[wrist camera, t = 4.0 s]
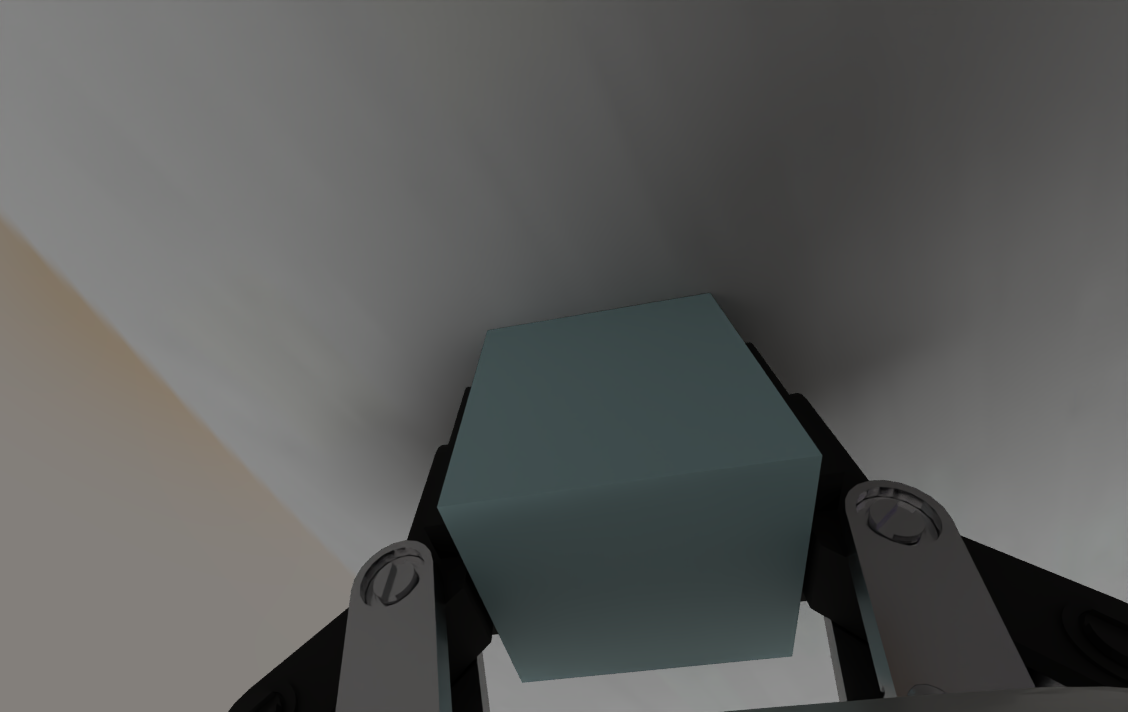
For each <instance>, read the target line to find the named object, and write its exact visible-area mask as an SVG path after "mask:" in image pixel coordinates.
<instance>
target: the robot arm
mask: <svg viewBox="0 0 1128 712" xmlns="http://www.w3.org/2000/svg"><path fill="white" fill-rule="evenodd" d="M745 344H746V346H747V347H748V349H749V350H750V351H751V353H752V354H753V356H754V357H755V359H756V360H757V362H758V363H759V364H760V366H761V367H762V369H763V370H764V372H765V373H766V375H767V376H768V377H769V379H770V380H771V382H772V383H773V385H774V386H775V388H776V389H777V391H778V392H779V393H780V395H781V396H782V398H783V399H784V401H785V402H786V404H787V405H788V406H789V408H790V409H791V411H792V412H793V414H794V415H795V417H796V418H797V419H798V421H799V422H800V424H801V425H802V427H803V428H804V430H805V431H806V432H807V434H808V435H809V437H810V438H811V440H812V441H813V443H814V444H815V445H816V447H817V448H818V450H819V451H820V453H821V454H822V461H821V467H820V474H819V481H818V487H817V494H816V501H815V507H814V514H813V521H812V527H811V534H810V541H809V547H808V554H807V560H806V567H805V574H804V580H803V587H802V594H801V600H800V602H801V601H807V602H808V604H809V606H810V608H811V609H813V610H815V611H816V612H818V613H820V614H821V615H823V616H824V621H825V626H826V632H827V637H828V642H829V648H830V653H831V659H832V664H833V669H834V675H835V680H836V686H837V691H838V696H839V702H833V703H821V704H809V705H797V706H784V707H772V708H760V709H749V710H737V711H726V712H1128V604H1127V603H1125V602H1123V601H1121V600H1119V599H1116V598H1114V597H1111V596H1109V595H1106V594H1104V593H1101V592H1099V591H1096V590H1094V589H1091V588H1089V587H1087V586H1084V585H1082V584H1079V583H1077V582H1074V581H1072V580H1069V579H1067V578H1064V577H1062V576H1059V575H1057V574H1054V573H1052V572H1050V571H1047V570H1045V569H1042V568H1040V567H1037V566H1035V565H1032V564H1030V563H1027V562H1025V561H1022V560H1020V559H1017V558H1015V557H1013V556H1010V555H1008V554H1005V553H1003V552H1000V551H998V550H995V549H993V548H990V547H988V546H985V545H983V544H980V543H978V542H976V541H973V540H971V539H968V538H966V537H963V536H961V535H960V534H959V532H958V529H957V527H956V525H955V523H954V521H953V519H952V518H951V517H950V515H949V514H948V512H947V511H946V510H945V508H944V507H943V506H942V505H941V504H939V503H938V502H937V501H936V500H935V499H933V498H932V497H931V496H929V495H927V494H925V493H924V492H922V491H920V490H918V489H917V488H914V487H911V486H908V485H905V484H902V483H899V482H893V481H887V480H873V481H869V480H868V479H867V478H866V476H865V475H864V474H863V472H862V471H861V470H860V468H859V467H858V466H857V464H856V463H855V462H854V461H853V459H852V458H851V457H850V455H849V454H848V453H847V451H846V450H845V449H844V447H843V446H842V445H841V444H840V442H839V441H838V440H837V438H836V437H835V436H834V434H833V433H832V432H831V430H830V429H829V428H828V427H827V425H826V424H825V423H824V421H823V420H822V419H821V417H820V416H819V415H818V413H817V412H816V411H815V409H814V408H813V407H812V406H811V404H810V403H809V402H808V400H807V399H806V398H805V397H804V396H803V395H802V394H799V393H795V394H788V392H787V391H786V389H785V388H784V387H783V385H782V384H781V383H780V381H779V380H778V378H777V377H776V376H775V374H774V373H773V371H772V370H771V369H770V367H769V366H768V364H767V363H766V362H765V360H764V359H763V358H762V356H761V355H760V353H759V352H758V351H757V349H756V348H755V346H754V345H753V344H752V343H745ZM471 387H472V386H471ZM471 387H467V388H466V389H465V392H464V395H463V398H462V402H461V405H460V408H459V411H458V415H457V418H456V421H455V425H454V428H453V431H452V434H451V438H450V441H449V444H448V445H441V446H440V447H439V448H438V450H437V452H436V454H435V457H434V460H433V463H432V466H431V469H430V472H429V475H428V478H427V481H426V484H425V487H424V490H423V493H422V496H421V499H420V502H419V505H418V508H417V511H416V514H415V517H414V520H413V523H412V526H411V529H410V533H409V536H408V539H407V540H405V541H401V542H396V543H393V544H391V545H389V546H387V547H385V548H383V549H381V550H380V551H378V552H377V553H376V554H374V555H373V556H372V557H371V558H370V559H369V560H368V561H367V562H366V563H365V564H364V565H363V566H362V567H361V569H360V571H359V572H358V574H357V576H356V578H355V579H354V583H353V586H352V589H351V595H350V603H349V608H348V609H346V610H345V611H344V612H343V613H341V614H340V615H339V616H338V617H337V618H335V619H334V620H333V621H332V622H331V623H329V624H328V625H327V626H326V627H324V628H323V629H322V630H321V631H319V632H318V633H317V634H316V635H315V636H313V637H312V638H311V639H310V640H309V641H307V642H306V643H305V644H304V645H302V646H301V647H300V648H299V649H298V650H296V651H295V652H294V653H293V654H292V655H290V656H289V657H288V658H287V659H286V660H284V661H283V662H282V663H281V664H279V665H278V666H277V667H276V668H274V669H273V670H272V671H271V672H270V673H268V674H267V675H266V676H265V677H264V678H262V679H261V680H260V681H259V682H258V683H256V684H255V685H254V686H253V687H251V688H250V689H249V690H248V691H247V692H246V693H245V694H244V695H243V696H242V697H241V698H240V699H239V700H238V701H237V702H235V704H234V705H233V706H232V707H231V709H230V710H229V712H490V707H489V699H488V692H487V684H486V676H485V668H484V660H483V653H482V651H483V650H484V649H485V648H486V647H487V646H488V645H489V644H490V643H491V639H492V635H494V634H498V632H497V630H496V628H495V626H494V623H493V621H492V619H491V617H490V615H489V613H488V611H487V609H486V607H485V605H484V603H483V601H482V599H481V597H480V595H479V593H478V591H477V588H476V586H475V584H474V582H473V580H472V578H471V576H470V574H469V572H468V570H467V568H466V566H465V564H464V562H463V560H462V558H461V556H460V553H459V551H458V549H457V547H456V545H455V543H454V541H453V539H452V537H451V535H450V533H449V531H448V529H447V527H446V525H445V523H444V521H443V518H442V516H441V514H440V512H439V510H438V508H437V506H438V502H439V499H440V495H441V492H442V488H443V485H444V481H445V478H446V474H447V471H448V467H449V464H450V460H451V457H452V453H453V450H454V446H455V443H456V439H457V436H458V432H459V429H460V425H461V422H462V418H463V415H464V411H465V408H466V404H467V401H468V397H469V394H470V390H471Z"/></svg>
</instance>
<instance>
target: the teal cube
mask: <svg viewBox="0 0 1128 712" xmlns="http://www.w3.org/2000/svg"><path fill="white" fill-rule="evenodd" d="M821 461H822V454H821V453H820V451H819V450H818V448H817V447H816V445H815V444H814V443H813V441H812V440H811V438H810V437H809V435H808V434H807V432H806V431H805V430H804V428H803V427H802V425H801V424H800V422H799V421H798V419H797V418H796V417H795V415H794V414H793V412H792V411H791V409H790V408H789V406H788V405H787V404H786V402H785V401H784V399H783V398H782V396H781V395H780V393H779V392H778V391H777V389H776V388H775V386H774V385H773V383H772V382H771V380H770V379H769V377H768V376H767V375H766V373H765V372H764V370H763V369H762V367H761V366H760V364H759V363H758V362H757V360H756V359H755V357H754V356H753V354H752V353H751V351H750V350H749V349H748V347H747V346H746V344H745V343H744V341H743V340H742V338H741V337H740V336H739V334H738V333H737V331H736V330H735V328H734V327H733V325H732V324H731V323H730V321H729V320H728V318H727V317H726V315H725V314H724V312H723V311H722V310H721V308H720V307H719V305H718V304H717V302H716V301H715V299H714V298H713V297H712V295H711V294H710V293H706V294H700V295H695V296H689V297H683V298H677V299H671V300H665V301H659V302H653V303H647V304H641V305H635V306H629V307H623V308H617V309H612V310H606V311H600V312H594V313H588V314H582V315H576V316H570V317H564V318H558V319H552V320H546V321H540V322H534V323H529V324H523V325H517V326H511V327H505V328H499V329H493V330H488V331H487V334H486V338H485V341H484V345H483V348H482V352H481V355H480V359H479V362H478V366H477V369H476V373H475V376H474V380H473V383H472V387H471V390H470V394H469V397H468V401H467V404H466V408H465V411H464V415H463V418H462V422H461V425H460V429H459V432H458V436H457V439H456V443H455V446H454V450H453V453H452V457H451V460H450V464H449V467H448V471H447V474H446V478H445V481H444V485H443V488H442V492H441V495H440V499H439V502H438V506H437V508H438V510H439V512H440V514H441V516H442V518H443V521H444V523H445V525H446V527H447V529H448V531H449V533H450V535H451V537H452V539H453V541H454V543H455V545H456V547H457V549H458V551H459V553H460V556H461V558H462V560H463V562H464V564H465V566H466V568H467V570H468V572H469V574H470V576H471V578H472V580H473V582H474V584H475V586H476V588H477V591H478V593H479V595H480V597H481V599H482V601H483V603H484V605H485V607H486V609H487V611H488V613H489V615H490V617H491V619H492V621H493V623H494V626H495V628H496V630H497V632H498V634H499V636H500V638H501V640H502V642H503V644H504V646H505V648H506V650H507V652H508V654H509V656H510V658H511V661H512V663H513V665H514V667H515V669H516V671H517V673H518V675H519V677H520V679H521V681H522V683H523V682H533V681H544V680H554V679H564V678H574V677H585V676H595V675H605V674H615V673H626V672H636V671H646V670H656V669H667V668H677V667H687V666H698V665H708V664H718V663H728V662H739V661H749V660H759V659H769V658H780V657H790V656H792V653H793V647H794V640H795V634H796V627H797V620H798V614H799V607H800V600H801V594H802V587H803V580H804V574H805V567H806V560H807V554H808V547H809V541H810V534H811V527H812V521H813V514H814V507H815V501H816V494H817V487H818V481H819V474H820V467H821Z"/></svg>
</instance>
